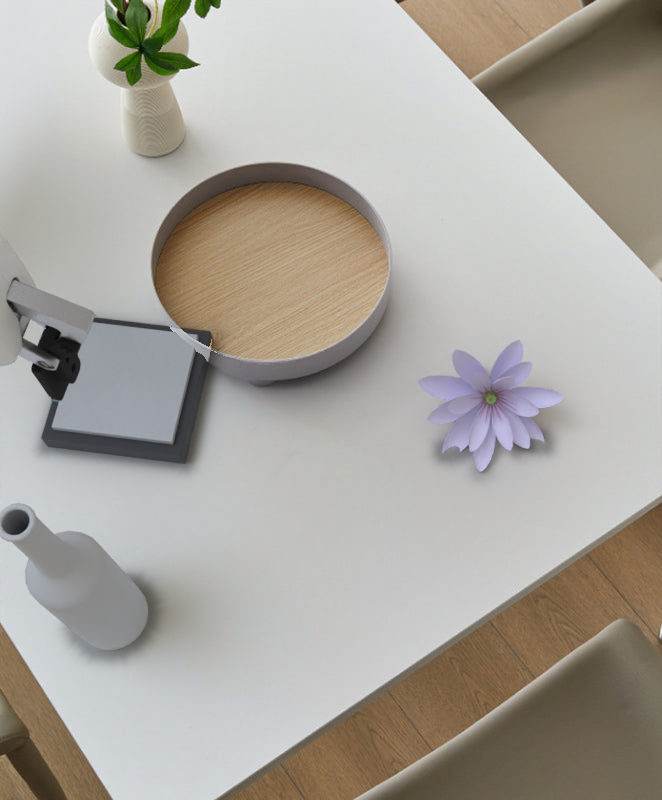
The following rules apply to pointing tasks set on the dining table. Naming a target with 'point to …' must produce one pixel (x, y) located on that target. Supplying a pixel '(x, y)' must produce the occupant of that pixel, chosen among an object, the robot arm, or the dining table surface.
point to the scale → (131, 393)
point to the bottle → (76, 580)
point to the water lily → (488, 403)
